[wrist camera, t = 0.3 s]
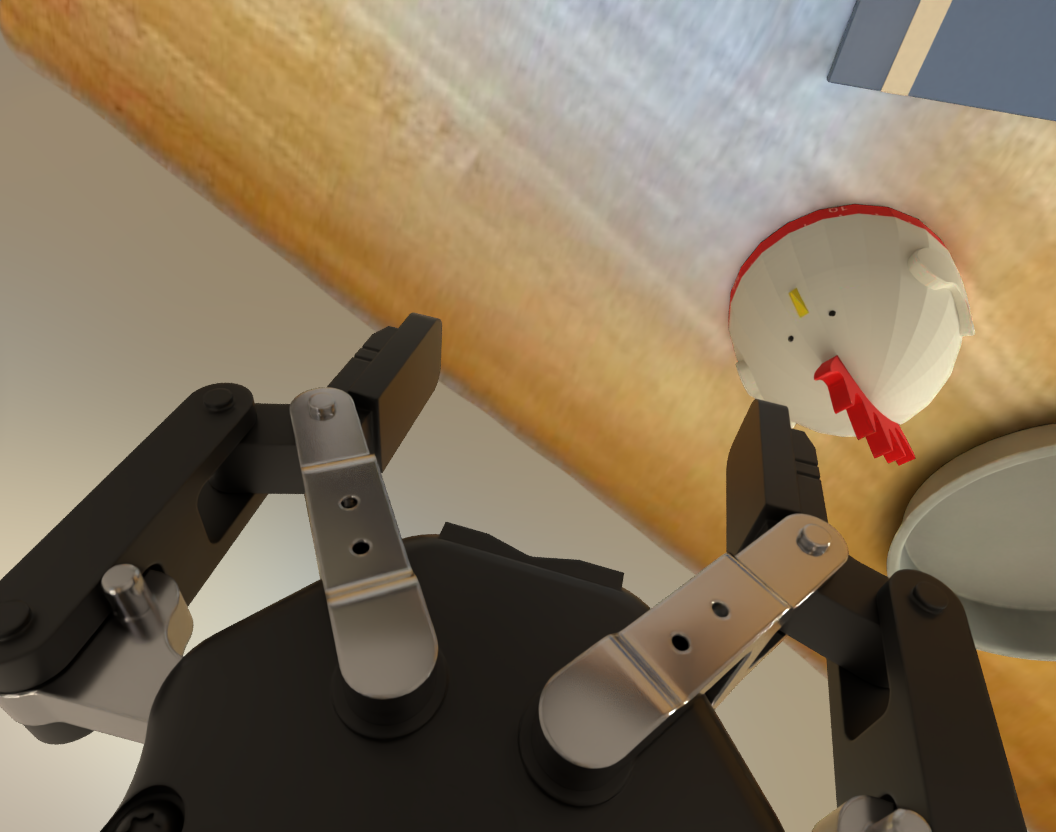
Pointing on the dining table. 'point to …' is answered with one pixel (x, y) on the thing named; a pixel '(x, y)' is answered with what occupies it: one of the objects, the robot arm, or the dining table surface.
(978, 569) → the cake pan
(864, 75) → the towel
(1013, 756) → the dining table surface
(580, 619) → the robot arm
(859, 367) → the kitchen timer
